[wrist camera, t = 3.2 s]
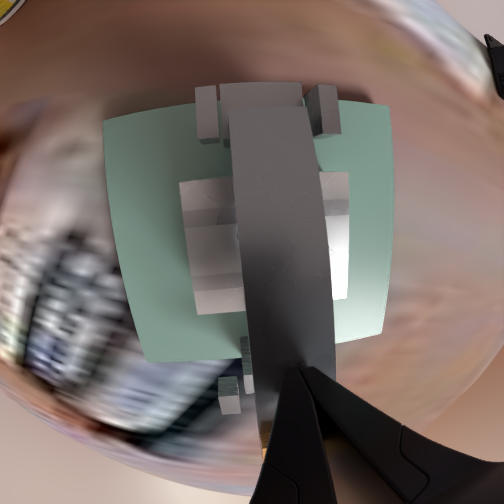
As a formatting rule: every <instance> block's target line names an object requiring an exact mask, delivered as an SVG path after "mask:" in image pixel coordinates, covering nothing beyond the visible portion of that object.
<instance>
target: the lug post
mask: <svg viewBox="0 0 504 504" xmlns="http://www.w3.org/2000/svg"><path fill="white" fill-rule="evenodd" d="M240 346H241V356H242V365H243V375H244V383H245V391H246V394H248V393H254V386H253V377H252V368H251V359H250V350H249V341H248V336H244V337H240ZM218 398H219V402H220V407H221V411H222V415H223V414H236V413H241V407H240V396H239V389H238V382H237V376H234V377H221V378H218Z"/></svg>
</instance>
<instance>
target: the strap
mask: <svg viewBox="0 0 504 504" xmlns="http://www.w3.org/2000/svg"><path fill="white" fill-rule="evenodd" d="M228 126H229V139H230V151H231V163H232V175H233V186H234V197H235V209H236V220H237V230H238V241H239V252H240V262H241V272H242V282H243V292H244V302H245V312H246V322H247V331H248V341H249V350H250V359H251V368H252V377H253V386H254V395H255V404H256V412H257V421H258V429H259V438H260V446H261V452H262V458H263V463H264V457H265V453H266V449H267V445H268V441H269V437H270V433H271V429H272V424H273V420H274V416H275V411H276V407H277V402H278V397H279V393H280V388H281V383H282V378H283V373H284V371H285V370H290V369H300V368H302V367H308V366H314V367H316V368H317V369H319V370H320V371H322V372H323V373H324V374H326V375H327V376H329V377H330V378H332V379H333V380H335V381H336V358H335V326H334V306H333V291H332V277H331V265H330V255H329V245H328V235H327V227H326V219H325V211H324V203H323V196H322V189H321V182H320V176H319V169H318V163H317V157H316V152H315V146H314V141H313V135H312V130H311V125H310V120H309V115H308V110H307V107H297V106H274V107H245V108H230V109H228Z"/></svg>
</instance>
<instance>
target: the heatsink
mask: <svg viewBox="0 0 504 504" xmlns="http://www.w3.org/2000/svg"><path fill="white" fill-rule="evenodd" d="M319 176H320V182H321V189H322V196H323V203H324V211H325V219H326V227H327V235H328V245H329V255H330V265H331V277H332V291H333V299H339V298H346V293H347V277H348V256H349V177H348V172H338V171H319ZM179 185H180V195H181V204H182V214H183V222H184V230H185V238H186V245H187V252H188V259H189V266H190V273H191V279H192V286H193V292H194V297H195V303H196V309H197V315H202V314H215V313H226V312H237V311H245V302H244V292H243V282H242V272H241V262H240V252H239V241H238V230H237V220H236V209H235V197H234V186H233V176H224V177H213V178H204V179H195V180H188V181H184V182H180V183H179Z"/></svg>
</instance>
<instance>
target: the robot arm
mask: <svg viewBox="0 0 504 504" xmlns="http://www.w3.org/2000/svg"><path fill="white" fill-rule="evenodd" d="M484 38H485V41H486V44H487V48H488V51H489V54H490V57H491V61H492V65H493V68H494V72H495V77H496V81H497V85H498V90H499V94H500V97H501V98H502V99H503V100H504V45H503V44H501V43H500V42H499V41H497V40H496V39H494V38H493V37H492V36H490V35H489V34H485V35H484ZM249 504H504V462H490V461H485V460H481V459H478V458H475V457H472V456H470V455H467V454H464V453H461V452H459V451H456V450H453V449H451V448H448V447H445V446H443V445H441V444H439V443H437V442H434V441H432V440H430V439H428V438H426V437H424V436H422V435H420V434H419V433H417V432H415V431H413V430H412V429H410V428H408V427H406V426H405V425H402V424H401V423H400V422H398V421H396V420H395V419H393V418H391V417H390V416H388V415H387V414H385V413H383V412H382V411H380V410H379V409H377V408H376V407H374V406H372V405H371V404H369V403H368V402H366V401H365V400H363V399H362V398H360V397H359V396H357V395H355V394H354V393H352V392H351V391H349V390H348V389H346V388H345V387H343V386H342V385H341V384H339V383H338V382H336V381H335V380H333V379H332V378H330V377H329V376H327V375H326V374H324V373H323V372H322V371H320V370H319V369H317V368H316V367H314V366H308V367H302V368H300V369H290V370H285V371H284V373H283V378H282V383H281V388H280V393H279V397H278V402H277V407H276V411H275V416H274V420H273V424H272V429H271V433H270V437H269V441H268V445H267V449H266V453H265V457H264V463H263V464H262V468H261V472H260V475H259V479H258V482H257V485H256V488H255V491H254V493H253V496H252V498H251V500H250V503H249Z"/></svg>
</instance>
